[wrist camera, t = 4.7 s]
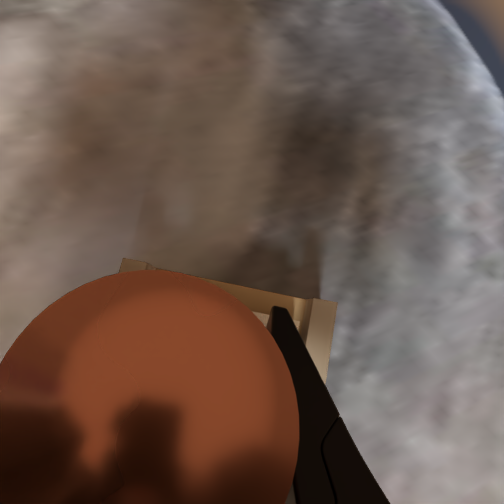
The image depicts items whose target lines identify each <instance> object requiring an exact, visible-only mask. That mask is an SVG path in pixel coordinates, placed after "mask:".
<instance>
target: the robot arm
mask: <svg viewBox="0 0 504 504" xmlns="http://www.w3.org/2000/svg"><path fill="white" fill-rule="evenodd" d="M266 329H267V330H268V331H269V333H270V334H271V335H272V337H273V338H274V340H275V342H276V344H277V345H278V347H279V349H280V351H281V352H282V354H283V357H284V359H285V362H286V364H287V366H288V369H289V371H290V374H291V378H292V381H293V385H294V389H295V393H296V398H297V405H298V412H299V447H298V457H297V463H296V468H295V472H294V477H293V481H292V485H291V488H290V490H289V493H288V496H287V499H286V502H285V504H390V502H389V501H388V499H387V498H386V496H385V494H384V493H383V491H382V489H381V488H380V486H379V485H378V483H377V481H376V480H375V478H374V476H373V475H372V473H371V471H370V470H369V468H368V466H367V465H366V463H365V461H364V460H363V458H362V456H361V454H360V453H359V451H358V449H357V447H356V445H355V443H354V441H353V439H352V437H351V436H350V434H349V432H348V430H347V428H346V426H345V424H344V422H343V420H342V418H341V417H339V415H340V414H339V412H338V410H337V408H336V406H335V404H334V402H333V400H332V398H331V396H330V394H329V392H328V390H327V388H326V386H325V384H324V382H323V380H322V378H321V376H320V374H319V372H318V370H317V368H316V366H315V364H314V362H313V360H312V358H311V356H310V354H309V352H308V350H307V348H306V346H305V344H304V342H303V340H302V338H301V336H300V333H299V331H298V329H297V327H296V325H295V323H294V321H293V319H292V317H291V315H290V313H289V311H288V310H287V309H286V308H284V307H279V306H273V307H272V308H271V311H270V315H269V319H268V322H267V326H266Z"/></svg>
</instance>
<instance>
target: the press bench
mask: <svg viewBox="0 0 504 504" xmlns="http://www.w3.org/2000/svg"><path fill="white" fill-rule="evenodd" d="M138 270H163V269H158V268H155V267H153V266H152V265H150V264H148V263H146V262H141V261H136V260H131V259H127V258H123V260H122V263H121V267H120V270H119V273H122V272H129V271H138ZM164 271H168V270H164ZM171 272H172V271H171ZM186 275H187V274H186ZM190 276H191V275H190ZM193 277H196V276H193ZM197 278H200V279H202V280H205V281H207V282H209V283H212V284H214V285H216V286H218V287H220V288H221V289H223V290H225V291H226V292H228V293H230V294H231V295H233V296H234V297H235V298H237V299H238V300H239V301H240V302H242V303H243V304H244V305H245V306H247V307H248V308H249V309H250V310H251V311H253V312H258V313H263V314H267V315H270V311H271V308H272V307H273V306H279V307H284V308H286V309H287V310H288V311H289V313H290V315H291V317H292V319H293V320H296V321H300V323H299V329H298V331H299V333H300V336H301V338H302V340H303V342H304V344H305V346H306V348H307V350H308V352H309V354H310V356H311V358H312V360H313V362H314V364H315V366H316V368H317V370H318V372H319V374H320V376H321V378H322V380H323V382H324V384H325V383H326V376H327V370H328V363H329V357H330V350H331V343H332V337H333V330H334V323H335V317H336V310H337V304H338V303H336V302H331V301H327V300H322V299H317V298H311V299H307V300H306V299H301V298H296V297H291V296H287V295H282V294H277V293H272V292H268V291H263V290H258V289H253V288H249V287H244V286H239V285H234V284H230V283H225V282H220V281H215V280H210V279H206V278H201V277H197Z"/></svg>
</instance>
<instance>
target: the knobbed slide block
mask: <svg viewBox="0 0 504 504" xmlns="http://www.w3.org/2000/svg"><path fill="white" fill-rule="evenodd" d="M268 319H269V315H267V314H263V313H258V312H253V311H251V310H250V309H249V308H248V307H247V306H245V305H244V304H243V303H242V302H240V301H239V300H238V299H237V298H235V297H234V296H233V295H231V294H230V293H228V292H226V291H225V290H223V289H221V288H220V287H218V286H216V285H214V284H212V283H209V282H207V281H205V280H202V279H200V278H197V277H193V276H190V275H186V274H183V273H178V272H171V271H164V270H138V271H129V272H122V273H118V274H114V275H110V276H106V277H102V278H100V279H97V280H95V281H92V282H89V283H87V284H84V285H82V286H81V287H79V288H77V289H75V290H73V291H71V292H69V293H67V294H66V295H64V296H63V297H61V298H60V299H58V300H57V301H55V302H54V303H53V304H51V305H50V306H49V307H47V308H46V309H45V310H44V311H43V312H42V313H41V314H39V315H38V316H37V317H36V318H35V319H34V320H33V321H32V322H31V323H30V324H29V325H28V326H27V327H26V328H25V330H24V331H23V332H22V333H21V334H20V335H19V336H18V338H17V339H16V341H15V342H14V343H13V345H12V346H11V348H10V349H9V350H8V352H7V353H6V355H5V356H4V358H3V360H2V362H1V364H0V504H285V502H286V499H287V496H288V493H289V490H290V488H291V485H292V481H293V477H294V472H295V468H296V463H297V457H298V447H299V412H298V405H297V398H296V393H295V389H294V385H293V381H292V378H291V374H290V371H289V369H288V366H287V364H286V362H285V359H284V357H283V354H282V352H281V351H280V349H279V347H278V345H277V344H276V342H275V340H274V338H273V337H272V335H271V334H270V333H269V331H268V330H267V329H266V326H267V322H268ZM293 321H294V323H295V325H296V327H297V329H299V323H300V321H296V320H293Z"/></svg>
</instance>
